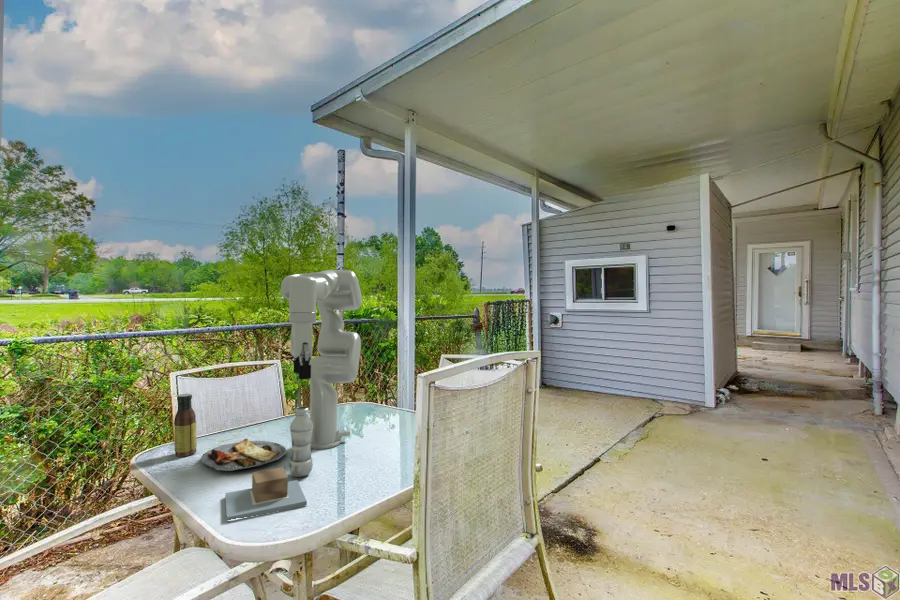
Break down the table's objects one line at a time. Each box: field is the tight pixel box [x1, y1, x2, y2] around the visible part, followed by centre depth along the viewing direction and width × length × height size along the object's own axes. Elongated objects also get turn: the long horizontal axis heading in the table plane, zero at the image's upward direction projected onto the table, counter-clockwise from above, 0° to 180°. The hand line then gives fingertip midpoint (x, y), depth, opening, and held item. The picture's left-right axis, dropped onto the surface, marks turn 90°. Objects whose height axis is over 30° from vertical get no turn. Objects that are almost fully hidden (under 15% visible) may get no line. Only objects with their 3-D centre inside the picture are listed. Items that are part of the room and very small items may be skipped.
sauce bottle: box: [173, 393, 198, 458], centre depth 142 cm, size 7×6×20 cm
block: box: [251, 466, 289, 503], centre depth 112 cm, size 8×8×5 cm
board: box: [224, 479, 308, 521], centre depth 110 cm, size 18×14×1 cm
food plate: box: [200, 438, 287, 472], centre depth 139 cm, size 25×23×4 cm
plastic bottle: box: [288, 405, 314, 478], centre depth 127 cm, size 6×7×20 cm
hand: (302, 375), depth 127 cm, fingers open, 9 cm apart
